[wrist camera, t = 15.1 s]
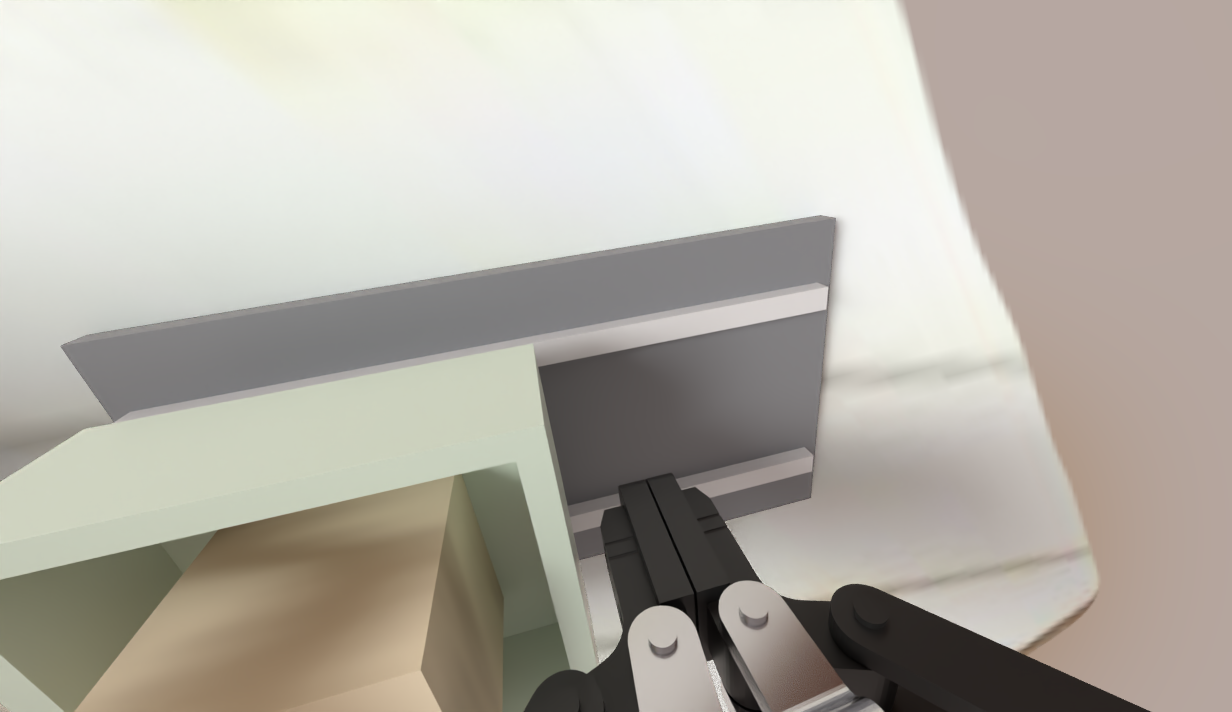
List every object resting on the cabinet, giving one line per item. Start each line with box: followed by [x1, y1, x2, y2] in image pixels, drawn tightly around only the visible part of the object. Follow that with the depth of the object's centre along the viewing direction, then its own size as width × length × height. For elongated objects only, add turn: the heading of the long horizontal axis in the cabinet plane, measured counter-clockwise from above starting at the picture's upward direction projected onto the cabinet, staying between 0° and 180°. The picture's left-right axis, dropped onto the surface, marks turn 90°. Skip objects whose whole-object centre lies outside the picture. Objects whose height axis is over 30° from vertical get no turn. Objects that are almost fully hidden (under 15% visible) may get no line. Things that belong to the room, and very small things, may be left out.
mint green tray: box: [0, 343, 599, 712], centre depth 11 cm, size 10×10×6 cm
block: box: [74, 474, 504, 712], centre depth 9 cm, size 5×5×5 cm
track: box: [61, 215, 836, 560], centre depth 16 cm, size 22×12×1 cm, turn 97°
